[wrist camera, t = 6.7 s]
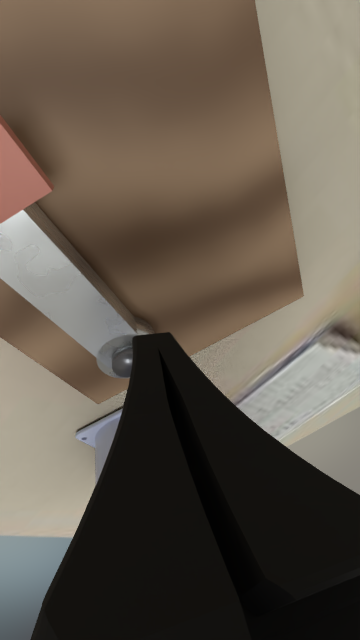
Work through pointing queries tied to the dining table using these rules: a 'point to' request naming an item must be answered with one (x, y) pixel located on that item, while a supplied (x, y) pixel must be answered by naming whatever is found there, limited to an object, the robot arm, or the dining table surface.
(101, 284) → the link
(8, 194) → the keeper
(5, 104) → the board
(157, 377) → the robot arm
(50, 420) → the dining table surface
